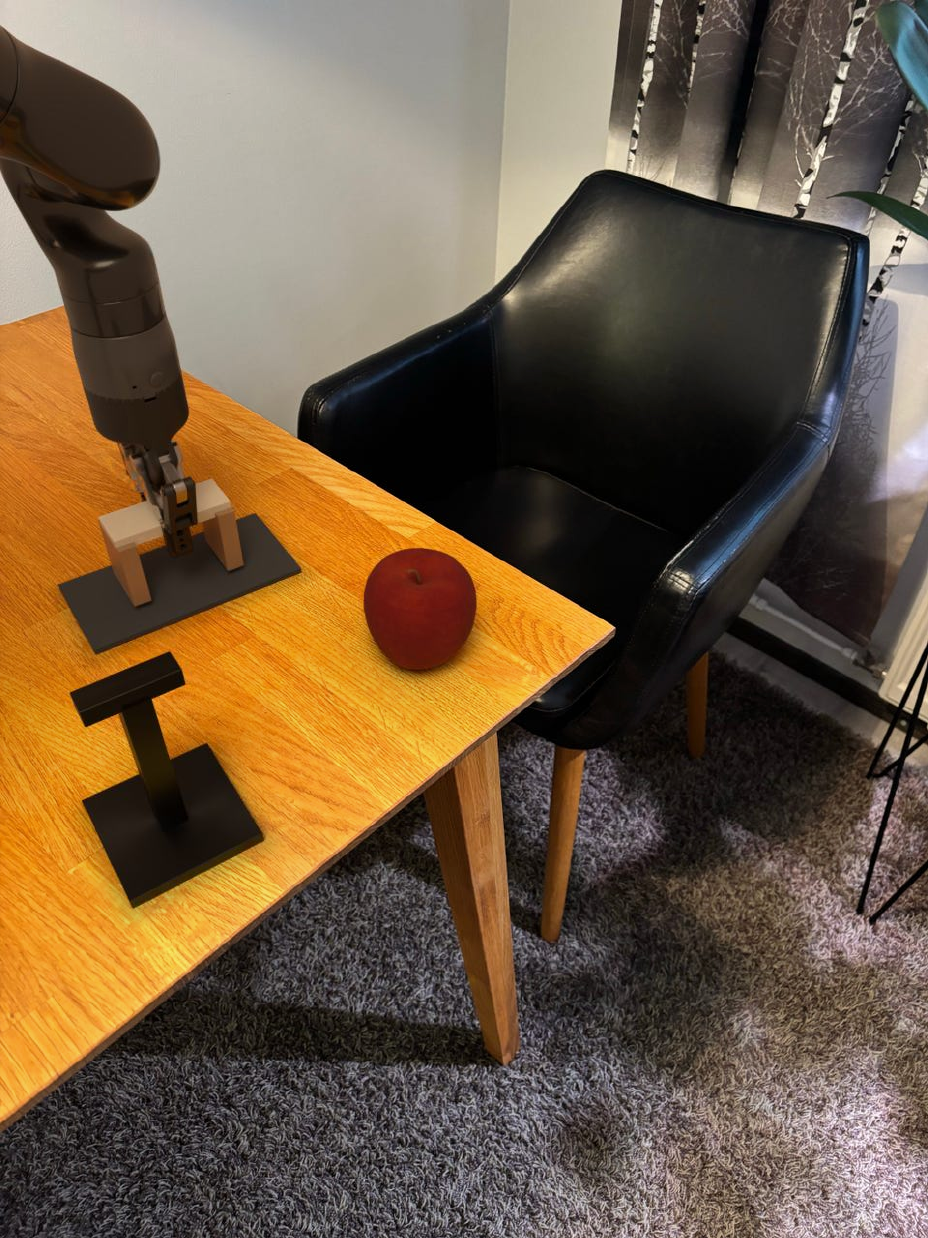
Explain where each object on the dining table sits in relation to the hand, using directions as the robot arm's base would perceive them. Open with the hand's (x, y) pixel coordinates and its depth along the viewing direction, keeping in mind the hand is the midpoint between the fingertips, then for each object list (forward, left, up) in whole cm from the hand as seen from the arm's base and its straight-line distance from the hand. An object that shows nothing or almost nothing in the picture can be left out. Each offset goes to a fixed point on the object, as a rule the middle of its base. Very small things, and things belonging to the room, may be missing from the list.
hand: (171, 538), depth 87 cm
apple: (+14, -20, -5) cm, 25 cm away
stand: (-11, -25, -5) cm, 28 cm away
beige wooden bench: (0, 0, -4) cm, 4 cm away
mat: (0, 0, -5) cm, 5 cm away
